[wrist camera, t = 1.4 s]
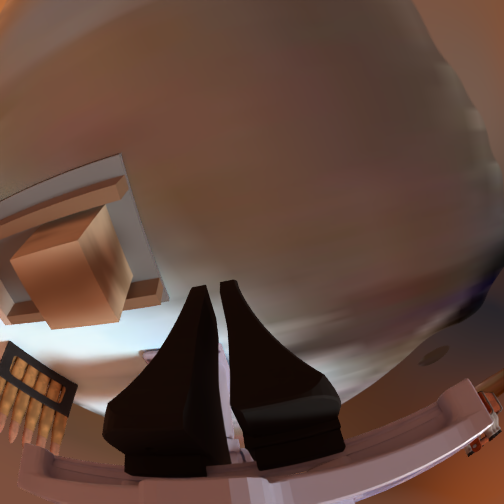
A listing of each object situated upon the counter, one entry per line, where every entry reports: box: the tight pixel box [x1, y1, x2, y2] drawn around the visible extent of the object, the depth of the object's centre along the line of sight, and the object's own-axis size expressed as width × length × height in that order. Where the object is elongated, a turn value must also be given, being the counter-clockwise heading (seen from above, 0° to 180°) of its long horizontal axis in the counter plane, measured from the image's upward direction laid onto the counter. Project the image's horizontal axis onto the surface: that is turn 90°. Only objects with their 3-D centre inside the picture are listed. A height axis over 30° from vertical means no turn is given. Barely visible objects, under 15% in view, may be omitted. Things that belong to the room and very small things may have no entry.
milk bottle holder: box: [463, 391, 502, 457], centre depth 63 cm, size 21×35×19 cm, turn 56°
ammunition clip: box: [0, 341, 78, 456], centre depth 21 cm, size 11×2×12 cm, turn 42°
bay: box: [0, 153, 169, 325], centre depth 18 cm, size 12×18×2 cm, turn 98°
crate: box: [10, 204, 133, 330], centre depth 17 cm, size 6×6×5 cm
